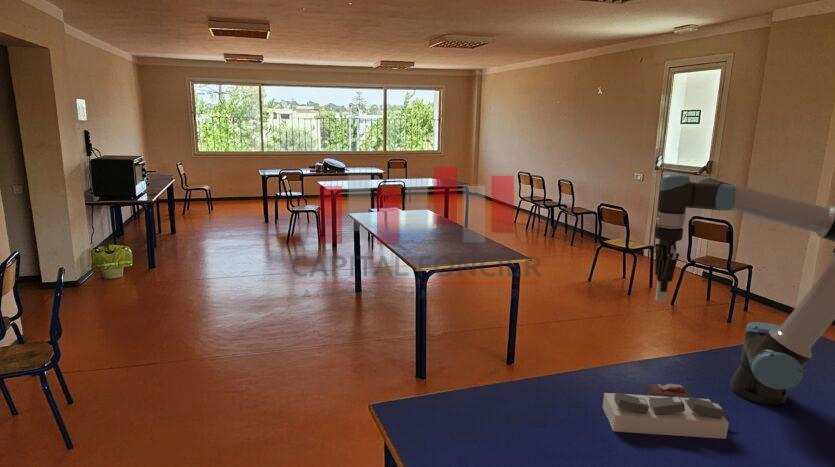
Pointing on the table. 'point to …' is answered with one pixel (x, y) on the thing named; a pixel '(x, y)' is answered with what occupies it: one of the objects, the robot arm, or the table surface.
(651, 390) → the walkie-talkie
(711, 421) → the power strip
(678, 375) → the table surface
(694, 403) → the block
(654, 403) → the rocker
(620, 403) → the rocker
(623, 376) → the table surface
